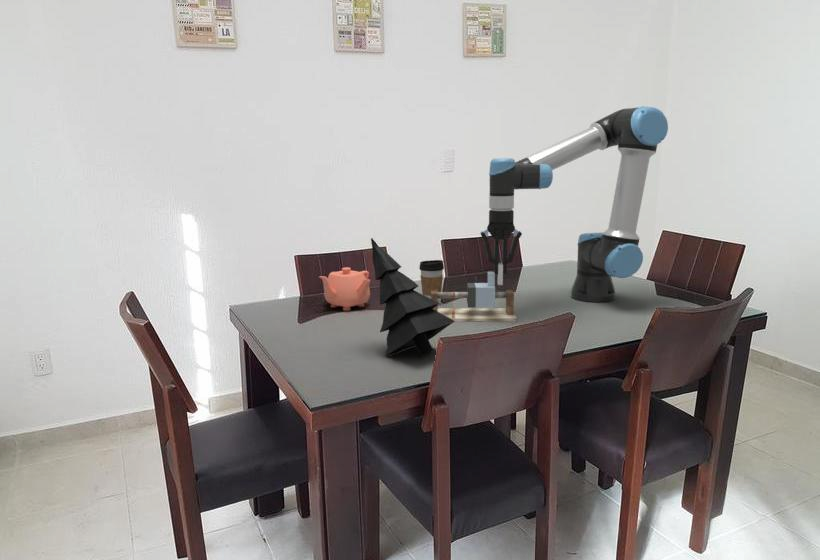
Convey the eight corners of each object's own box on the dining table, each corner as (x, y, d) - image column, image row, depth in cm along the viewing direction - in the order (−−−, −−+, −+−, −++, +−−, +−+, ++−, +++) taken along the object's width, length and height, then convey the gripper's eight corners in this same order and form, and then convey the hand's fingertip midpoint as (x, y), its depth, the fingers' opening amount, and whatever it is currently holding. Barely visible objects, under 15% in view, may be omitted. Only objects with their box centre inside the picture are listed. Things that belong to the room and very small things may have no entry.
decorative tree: (428, 356, 173) (375, 247, 181) (462, 335, 163) (405, 221, 171) (391, 371, 163) (336, 254, 171) (424, 349, 153) (365, 227, 161)
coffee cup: (442, 307, 212) (441, 263, 208) (417, 306, 213) (417, 263, 210) (445, 301, 220) (445, 259, 216) (422, 300, 221) (421, 258, 218)
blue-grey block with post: (493, 302, 202) (493, 270, 200) (494, 307, 196) (495, 274, 194) (474, 302, 202) (474, 270, 200) (475, 307, 196) (475, 275, 194)
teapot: (371, 311, 208) (370, 271, 205) (320, 314, 206) (318, 274, 203) (370, 299, 223) (368, 262, 220) (322, 301, 222) (320, 264, 219)
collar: (474, 302, 202) (474, 283, 201) (475, 307, 196) (475, 287, 195) (467, 302, 203) (467, 283, 201) (468, 307, 196) (468, 287, 195)
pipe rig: (512, 311, 205) (512, 287, 204) (516, 321, 194) (517, 296, 192) (430, 311, 207) (429, 287, 205) (429, 321, 195) (429, 296, 193)
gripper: (521, 207, 196) (519, 281, 201) (479, 208, 196) (478, 281, 201) (524, 210, 188) (522, 286, 193) (481, 210, 189) (480, 286, 194)
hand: (499, 283), depth 197 cm, fingers closed
